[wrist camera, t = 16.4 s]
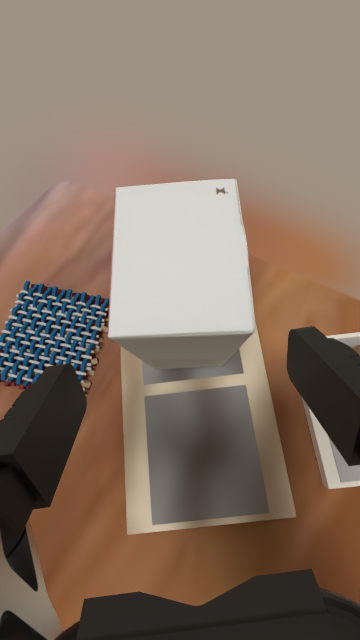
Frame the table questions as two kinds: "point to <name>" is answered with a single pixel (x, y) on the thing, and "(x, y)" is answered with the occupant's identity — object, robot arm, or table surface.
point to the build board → (202, 444)
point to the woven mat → (51, 334)
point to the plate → (327, 455)
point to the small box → (180, 274)
